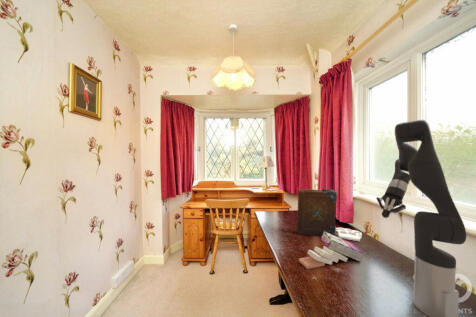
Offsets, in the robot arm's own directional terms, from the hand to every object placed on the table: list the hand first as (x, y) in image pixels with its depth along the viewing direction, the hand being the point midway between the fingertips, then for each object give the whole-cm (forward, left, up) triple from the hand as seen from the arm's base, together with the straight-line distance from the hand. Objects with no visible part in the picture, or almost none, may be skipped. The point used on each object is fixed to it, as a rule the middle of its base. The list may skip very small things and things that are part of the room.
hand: (384, 217), depth 93 cm
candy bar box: (+3, +14, -19) cm, 24 cm away
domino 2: (+2, +33, -20) cm, 38 cm away
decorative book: (+31, +17, -21) cm, 42 cm away
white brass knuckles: (+25, -2, -22) cm, 33 cm away
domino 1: (+2, +37, -21) cm, 42 cm away
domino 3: (+3, +24, -20) cm, 31 cm away
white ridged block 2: (+3, +29, -20) cm, 35 cm away
